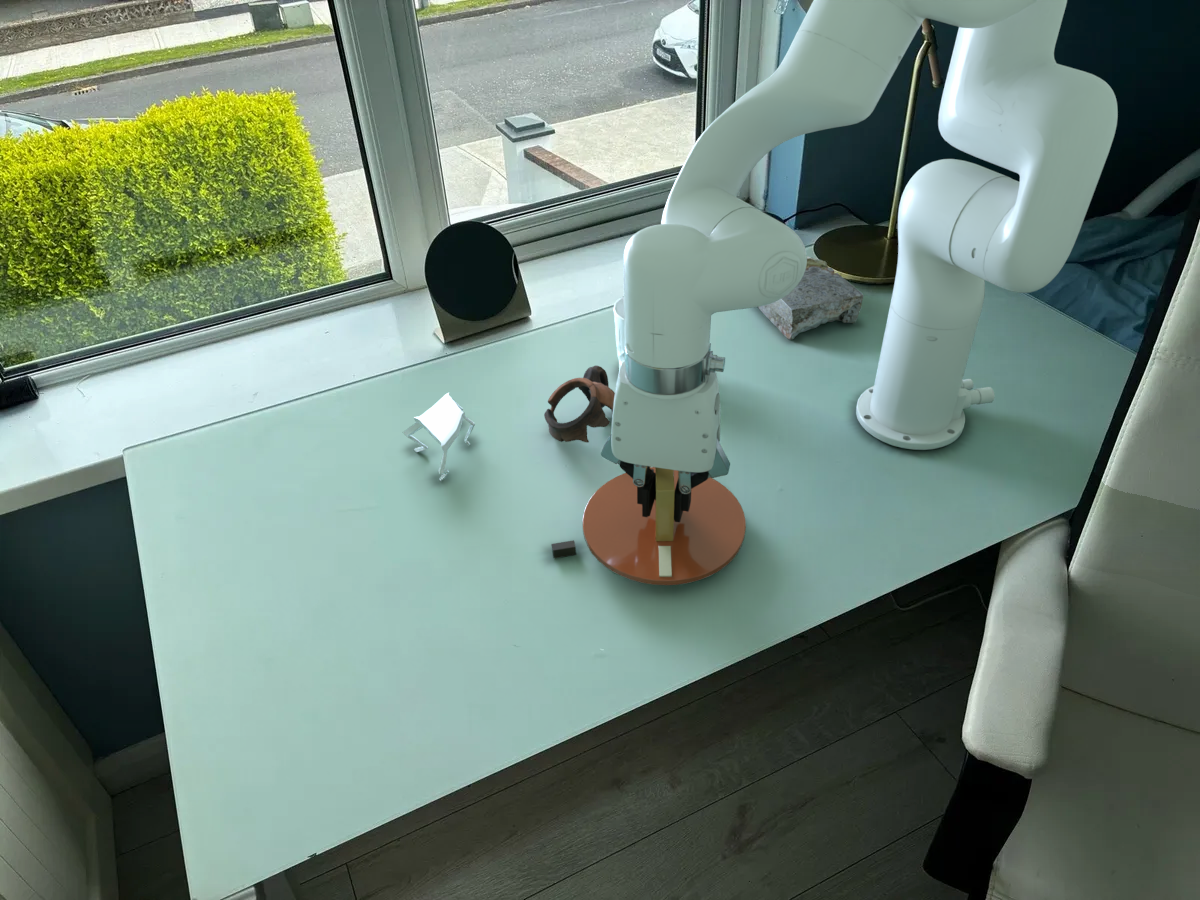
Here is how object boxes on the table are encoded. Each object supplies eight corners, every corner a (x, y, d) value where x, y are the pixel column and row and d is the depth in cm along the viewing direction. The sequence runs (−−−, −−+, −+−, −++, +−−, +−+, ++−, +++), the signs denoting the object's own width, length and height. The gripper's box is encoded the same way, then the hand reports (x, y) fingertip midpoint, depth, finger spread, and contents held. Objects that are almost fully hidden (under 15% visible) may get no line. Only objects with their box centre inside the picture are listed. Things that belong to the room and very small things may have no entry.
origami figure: (401, 434, 111) (394, 402, 107) (467, 418, 113) (462, 386, 109) (420, 495, 102) (413, 462, 99) (491, 477, 104) (487, 444, 101)
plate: (738, 470, 100) (743, 416, 96) (753, 585, 87) (759, 529, 83) (586, 471, 101) (583, 417, 96) (578, 585, 88) (574, 529, 83)
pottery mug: (636, 459, 106) (601, 421, 100) (568, 478, 110) (531, 442, 105) (640, 381, 113) (607, 341, 107) (576, 401, 117) (541, 363, 112)
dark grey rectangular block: (696, 498, 100) (696, 487, 99) (722, 563, 92) (723, 552, 91) (545, 522, 98) (544, 511, 97) (560, 590, 90) (559, 579, 89)
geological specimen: (796, 313, 119) (743, 259, 130) (792, 350, 124) (740, 295, 134) (866, 294, 122) (808, 242, 132) (859, 331, 126) (804, 278, 137)
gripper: (761, 350, 82) (747, 498, 94) (591, 330, 86) (597, 475, 97) (751, 398, 77) (737, 548, 88) (569, 375, 80) (578, 523, 92)
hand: (663, 509), depth 93 cm, fingers closed on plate, 2 cm apart
